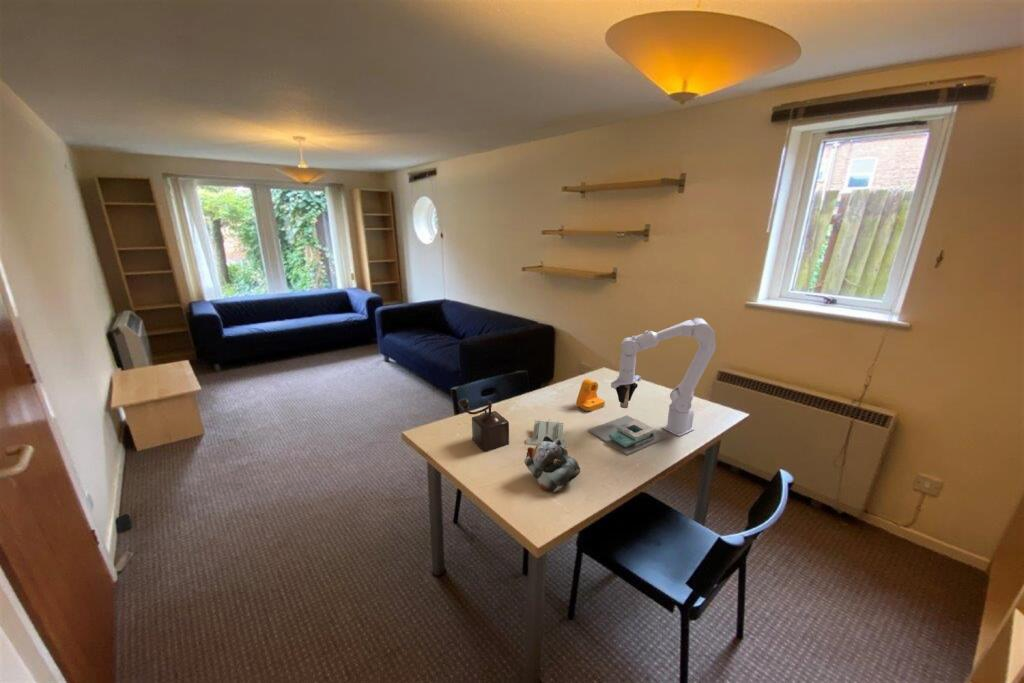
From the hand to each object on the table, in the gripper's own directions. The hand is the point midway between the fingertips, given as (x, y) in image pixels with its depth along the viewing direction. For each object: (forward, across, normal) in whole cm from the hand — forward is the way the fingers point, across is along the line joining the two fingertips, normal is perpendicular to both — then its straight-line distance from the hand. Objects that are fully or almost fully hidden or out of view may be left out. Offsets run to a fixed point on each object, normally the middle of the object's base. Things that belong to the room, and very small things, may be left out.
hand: (624, 401), depth 156 cm
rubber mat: (+10, +5, +7) cm, 13 cm away
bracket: (+10, 0, -18) cm, 21 cm away
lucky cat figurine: (+10, +46, +13) cm, 49 cm away
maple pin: (+2, 0, 0) cm, 2 cm away
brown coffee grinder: (+10, +54, -17) cm, 57 cm away
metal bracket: (+11, +32, -8) cm, 34 cm away
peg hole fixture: (+9, +7, +11) cm, 16 cm away
